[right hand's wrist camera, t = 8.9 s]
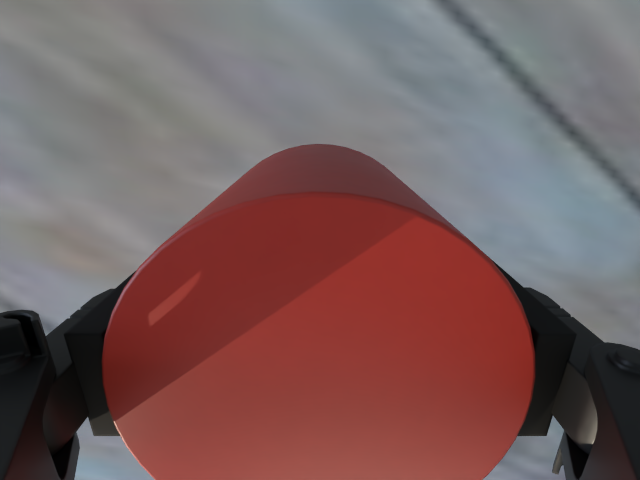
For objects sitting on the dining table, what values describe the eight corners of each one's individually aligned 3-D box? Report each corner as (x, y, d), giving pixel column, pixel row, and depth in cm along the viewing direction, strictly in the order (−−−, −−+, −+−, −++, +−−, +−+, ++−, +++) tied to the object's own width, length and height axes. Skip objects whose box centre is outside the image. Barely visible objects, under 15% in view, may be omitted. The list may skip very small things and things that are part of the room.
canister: (258, 350, 17) (203, 566, 9) (186, 179, 14) (8, 271, 6) (435, 306, 16) (551, 502, 8) (396, 115, 13) (515, 124, 5)
